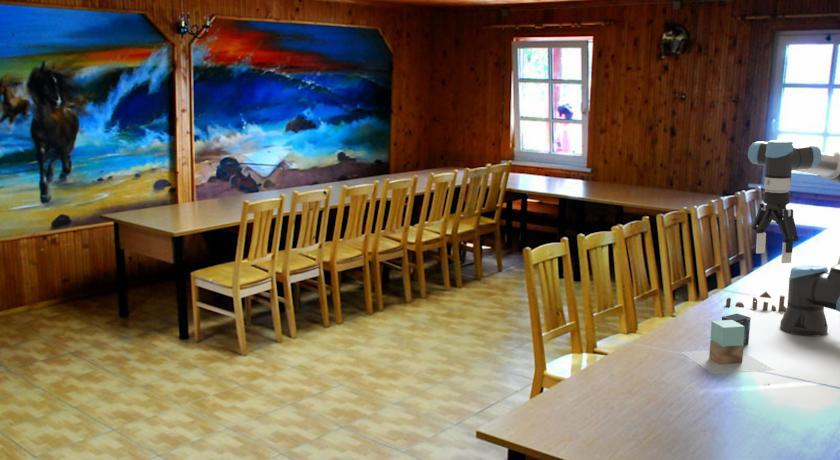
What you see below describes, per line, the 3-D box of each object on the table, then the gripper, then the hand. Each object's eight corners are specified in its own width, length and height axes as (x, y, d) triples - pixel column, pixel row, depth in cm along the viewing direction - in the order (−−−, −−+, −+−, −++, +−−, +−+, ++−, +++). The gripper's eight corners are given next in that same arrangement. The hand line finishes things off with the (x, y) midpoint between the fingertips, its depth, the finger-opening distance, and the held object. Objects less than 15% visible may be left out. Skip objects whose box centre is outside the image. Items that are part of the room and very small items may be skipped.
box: (733, 351, 264) (735, 320, 262) (718, 347, 269) (721, 316, 267) (748, 347, 268) (751, 316, 266) (734, 343, 273) (736, 312, 271)
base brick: (732, 356, 256) (733, 338, 255) (742, 362, 251) (743, 344, 249) (709, 358, 254) (710, 340, 253) (718, 364, 249) (719, 345, 248)
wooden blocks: (809, 313, 309) (811, 295, 307) (810, 316, 306) (812, 297, 304) (726, 304, 319) (727, 286, 318) (725, 306, 317) (727, 288, 315)
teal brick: (730, 338, 255) (732, 319, 254) (743, 345, 249) (744, 326, 247) (710, 339, 254) (711, 321, 253) (722, 346, 247) (723, 327, 246)
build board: (736, 351, 264) (737, 348, 264) (773, 373, 245) (773, 369, 245) (680, 355, 261) (680, 352, 260) (712, 377, 241) (712, 374, 241)
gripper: (743, 185, 261) (739, 250, 265) (790, 197, 237) (786, 267, 241) (764, 184, 262) (760, 248, 266) (814, 196, 238) (809, 266, 242)
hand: (772, 257), depth 254 cm, fingers open, 13 cm apart
